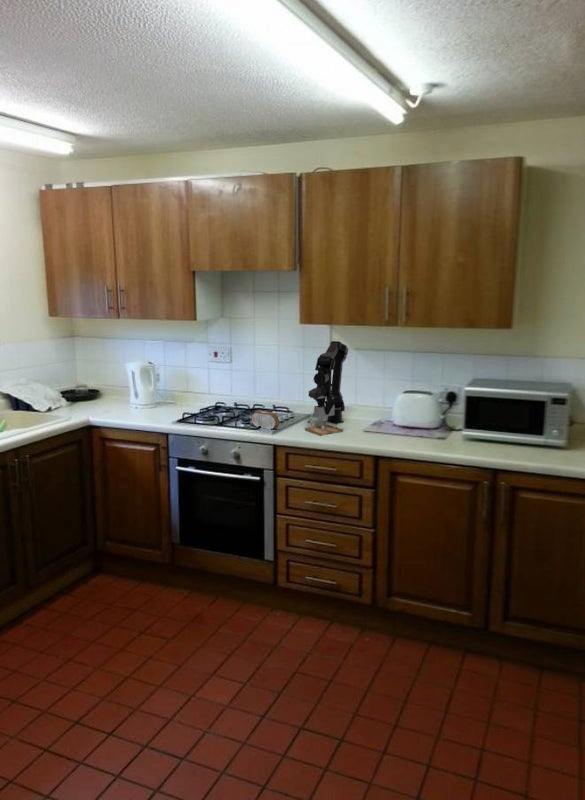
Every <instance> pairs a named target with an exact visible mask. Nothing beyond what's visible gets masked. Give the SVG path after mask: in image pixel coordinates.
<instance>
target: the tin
mask: <svg viewBox="0 0 585 800" xmlns="http://www.w3.org/2000/svg"><path fill="white" fill-rule="evenodd" d="M250 417H251V420H250V421H251V423H252V425H253V426H254V427H256V426H261V427H265V428H275V429H277V428H278V427H279V426H280V419H279V416H278V414H276V413H275V412H272V411H267V410H261V409H258V410H256V411H254V412H253V413H252V414H251V416H250ZM276 427H277V428H276Z"/></svg>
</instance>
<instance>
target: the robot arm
mask: <svg viewBox="0 0 585 800" xmlns="http://www.w3.org/2000/svg"><path fill="white" fill-rule="evenodd" d="M348 354H349V348H348V345H346V344H344V343H343V342H342V341H340V340H337V341H336V340H332V341H330V344H329V346H328V348H327V349H326V350H325V352H324V353H321V354H320V355H319V356H318V357H317V358H316V363H315V364H316V365H315V368H314V370H315V371H317V373H315V375H314V376H313V382H314V384H315V385H316V387H313V388H312V389H310V390H309V391H308V398H309V397H310V399H312V400H314V401H315V402H316V403H317V406H319V405H324V404H326V415H328V414H329V412H330V410H331V409H332V407H333V405H335V415H333V416H328V417H327V420H325V421H326V423H330V424H331V423H332V424H339V423H344V420H342V417H343V415H342V413H343V412H345V408H346V407H345V406H346V405H345V402H344V399H343V398H344V397H343V395H342V393H341V385H342V375H343V365H344V364H343V363H344V362H345V361H346V359H347V356H348Z"/></svg>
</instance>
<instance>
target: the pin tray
mask: <svg viewBox="0 0 585 800" xmlns="http://www.w3.org/2000/svg"><path fill="white" fill-rule="evenodd" d="M336 424H337V423H332V425H330V424H327V421H326V420H323V424H321V425H316V423H315V422H312V424H311V425H312V426H310V427H308V426H307V427H304V431H305V432H309V433H312V434H314V435H317V436H320V437H321V436H325V435H326V436H328V435H332V434H336V433H337V434H338V433H343V432H344V429H343V428H340V427H337V426H336Z"/></svg>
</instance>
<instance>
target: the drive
mask: <svg viewBox="0 0 585 800" xmlns="http://www.w3.org/2000/svg"><path fill="white" fill-rule="evenodd" d="M313 407H314V408H313V417H314V418H318V419H321V418H328V416H333V415H335V405H333V407H332V409H331V410H330V412H329V414H328V415H326V404H324V405H319V406H318V405H314V406H313Z"/></svg>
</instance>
